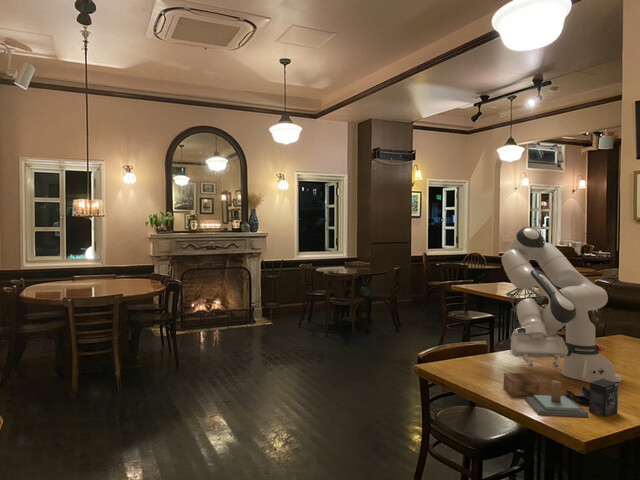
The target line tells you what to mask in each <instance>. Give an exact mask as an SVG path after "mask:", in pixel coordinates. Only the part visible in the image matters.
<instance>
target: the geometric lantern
mask: <svg viewBox="0 0 640 480" xmlns="http://www.w3.org/2000/svg"><path fill="white" fill-rule="evenodd" d="M523 291H524V293H523V294H522V292H523ZM505 295H506V297H507V298H508V300H509V301H508V302H509V303H511V306H512V308H511V309H510V311H511V313H510V315H511V317H510V332H509V343H510V344H511V342H512V340H511V336H512V333H513V331H514V330H515V329H517V321H518V316H517V304H518V303H519V302H520V301H522V300H524V299H527V298H532V295H535V297H536V298H533V299H534V300H535V302H536V303H537V304H538V305H539V306H540V307H541V304H542V302H543V301H544V300H545V299H546V298H547V297H546V296H545V295H544V294H542V293H540V292H538V291H536V289H533V288H529V289H520V288H517V287H515V288H514V289H512V290H511V291H507V293H505ZM527 295H528V296H527ZM520 296H524V297H520ZM514 300H517V301H516V303H515V305H514ZM518 328H521V324H520V322H519V321H518Z"/></svg>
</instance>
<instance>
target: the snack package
mask: <svg viewBox="0 0 640 480" xmlns="http://www.w3.org/2000/svg"><path fill="white" fill-rule="evenodd" d="M579 392H580V394H577V395H576V394H575V393H573V392H572V391H570V390H566V391H565V393H564V394H563V396H566V397H567V398H571V399H573V400H574V401H575V402H579V403H581V404H582V403H583V404H589V393H590V388H587V387H586V386H583V385H582V384H581V385H580V387H579Z"/></svg>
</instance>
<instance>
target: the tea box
mask: <svg viewBox="0 0 640 480" xmlns="http://www.w3.org/2000/svg"><path fill="white" fill-rule="evenodd" d="M502 385H503V389H504V390H505V391H506V392H507V393H508V395H509V396H510V397H511V398H526V397H534V395H540V381H539V380H538V379H537V378H536V377H534V375H532V374H531V373H528V372H527V373H526V372H503V384H502Z"/></svg>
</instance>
